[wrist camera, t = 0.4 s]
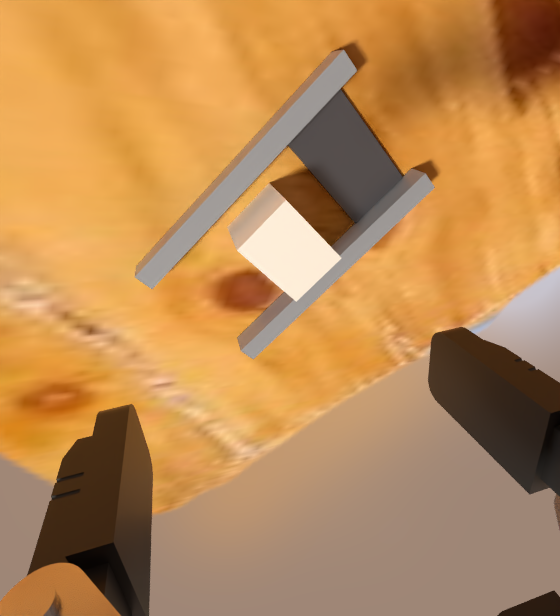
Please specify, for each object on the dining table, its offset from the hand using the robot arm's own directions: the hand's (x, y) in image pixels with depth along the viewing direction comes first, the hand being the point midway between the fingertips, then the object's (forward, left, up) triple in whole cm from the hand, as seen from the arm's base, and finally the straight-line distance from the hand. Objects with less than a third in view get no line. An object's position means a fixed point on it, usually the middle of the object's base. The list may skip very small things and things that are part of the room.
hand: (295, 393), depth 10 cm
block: (-1, +5, -22) cm, 22 cm away
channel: (-2, +5, -22) cm, 22 cm away
